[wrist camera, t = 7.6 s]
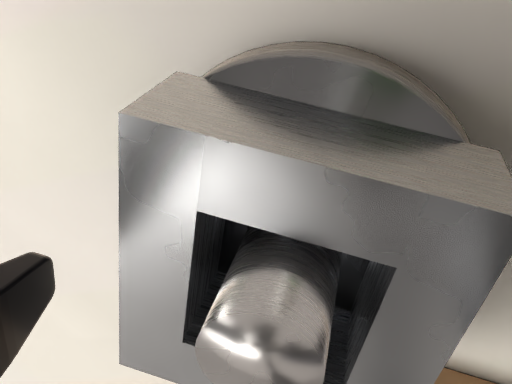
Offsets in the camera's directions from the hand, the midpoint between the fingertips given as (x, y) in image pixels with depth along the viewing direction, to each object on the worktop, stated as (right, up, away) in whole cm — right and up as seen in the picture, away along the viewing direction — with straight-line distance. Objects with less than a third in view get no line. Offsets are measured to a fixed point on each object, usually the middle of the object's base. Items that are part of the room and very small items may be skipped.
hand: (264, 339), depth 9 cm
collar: (+1, +2, +3) cm, 4 cm away
